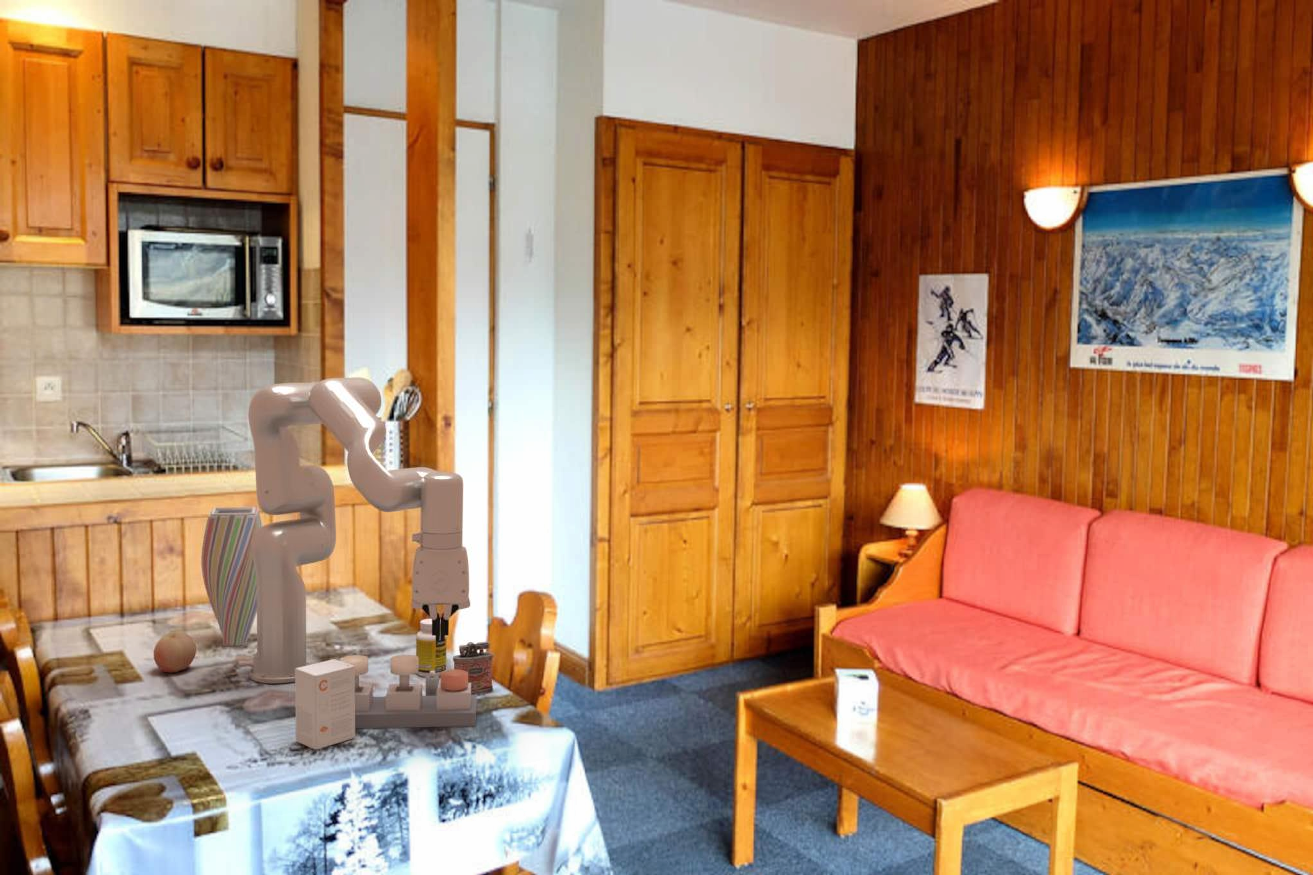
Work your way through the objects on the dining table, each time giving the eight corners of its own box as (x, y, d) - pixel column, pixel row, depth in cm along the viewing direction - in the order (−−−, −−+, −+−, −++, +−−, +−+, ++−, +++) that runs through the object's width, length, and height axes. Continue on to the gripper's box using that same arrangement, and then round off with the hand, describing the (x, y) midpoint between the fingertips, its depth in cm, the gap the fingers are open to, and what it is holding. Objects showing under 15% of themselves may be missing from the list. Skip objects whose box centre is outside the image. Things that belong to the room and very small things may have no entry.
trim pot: (424, 705, 217) (425, 673, 216) (425, 700, 219) (426, 669, 219) (438, 704, 217) (439, 673, 217) (439, 700, 220) (439, 669, 219)
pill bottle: (439, 678, 233) (439, 626, 232) (411, 676, 234) (411, 623, 233) (450, 670, 239) (451, 618, 238) (423, 667, 240) (423, 616, 239)
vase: (267, 633, 264) (266, 505, 262) (266, 648, 252) (265, 514, 249) (204, 636, 260) (202, 506, 257) (200, 652, 247) (199, 516, 244)
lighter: (455, 697, 222) (456, 647, 221) (450, 692, 225) (451, 642, 224) (495, 692, 226) (495, 642, 225) (489, 687, 228) (490, 638, 228)
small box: (334, 729, 203) (334, 657, 201) (356, 738, 198) (356, 665, 197) (294, 741, 196) (294, 667, 195) (315, 750, 192) (315, 675, 191)
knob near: (337, 692, 205) (337, 663, 204) (341, 683, 210) (341, 655, 209) (366, 692, 205) (366, 662, 205) (369, 683, 210) (369, 654, 210)
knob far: (439, 706, 207) (439, 677, 207) (441, 697, 212) (441, 669, 212) (467, 706, 208) (467, 677, 208) (468, 697, 213) (468, 669, 212)
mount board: (327, 728, 203) (327, 698, 202) (335, 710, 213) (335, 681, 212) (475, 726, 206) (475, 696, 206) (476, 707, 216) (476, 679, 215)
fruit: (147, 670, 234) (146, 632, 233) (185, 662, 240) (185, 625, 239) (164, 679, 229) (163, 640, 228) (203, 671, 234) (202, 633, 234)
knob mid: (389, 691, 206) (389, 662, 205) (391, 683, 211) (392, 654, 210) (417, 691, 207) (417, 662, 206) (419, 682, 212) (419, 654, 211)
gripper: (397, 544, 202) (396, 645, 204) (482, 544, 204) (481, 644, 206) (401, 536, 210) (400, 634, 211) (483, 536, 212) (481, 633, 214)
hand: (440, 639), depth 209 cm, fingers closed
